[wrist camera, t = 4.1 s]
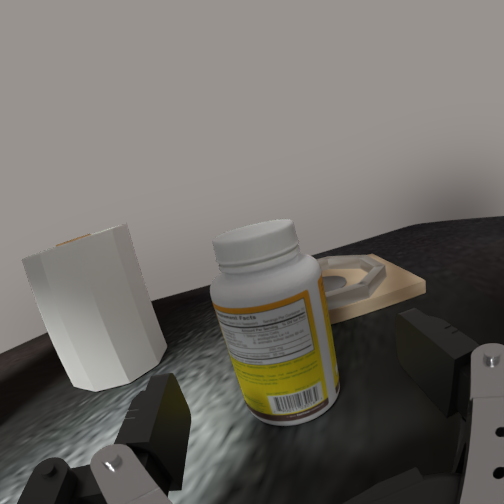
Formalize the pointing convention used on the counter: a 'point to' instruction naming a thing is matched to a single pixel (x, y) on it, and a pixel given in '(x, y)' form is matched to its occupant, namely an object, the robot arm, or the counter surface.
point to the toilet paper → (97, 309)
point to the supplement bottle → (275, 322)
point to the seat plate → (365, 285)
